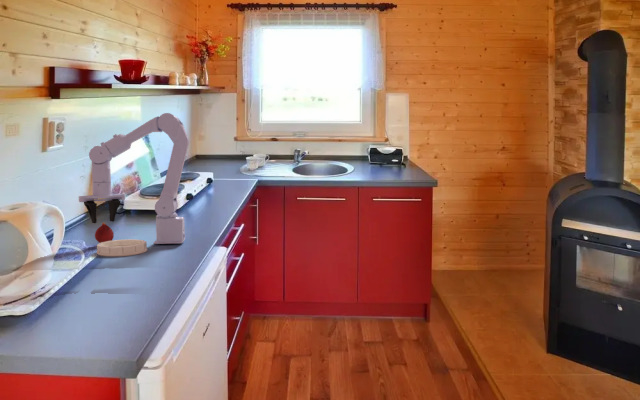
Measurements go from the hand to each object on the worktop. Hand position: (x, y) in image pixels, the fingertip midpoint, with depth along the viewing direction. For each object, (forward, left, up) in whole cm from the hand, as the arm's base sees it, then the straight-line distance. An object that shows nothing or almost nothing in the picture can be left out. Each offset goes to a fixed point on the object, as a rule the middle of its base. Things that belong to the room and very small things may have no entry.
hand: (103, 222), depth 165 cm
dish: (-9, +12, -8) cm, 17 cm away
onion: (0, 0, -8) cm, 8 cm away
